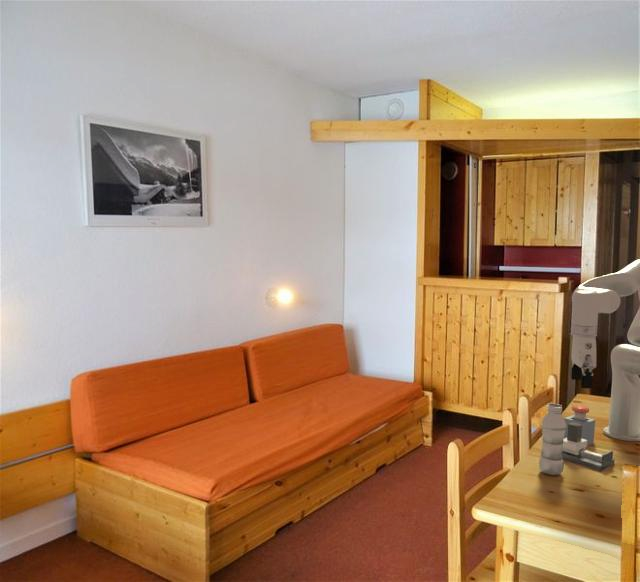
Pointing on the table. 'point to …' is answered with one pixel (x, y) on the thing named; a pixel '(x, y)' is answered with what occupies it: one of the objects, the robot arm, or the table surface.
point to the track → (591, 459)
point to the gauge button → (580, 412)
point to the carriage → (574, 439)
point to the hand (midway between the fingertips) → (581, 383)
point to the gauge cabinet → (583, 428)
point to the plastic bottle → (552, 441)
